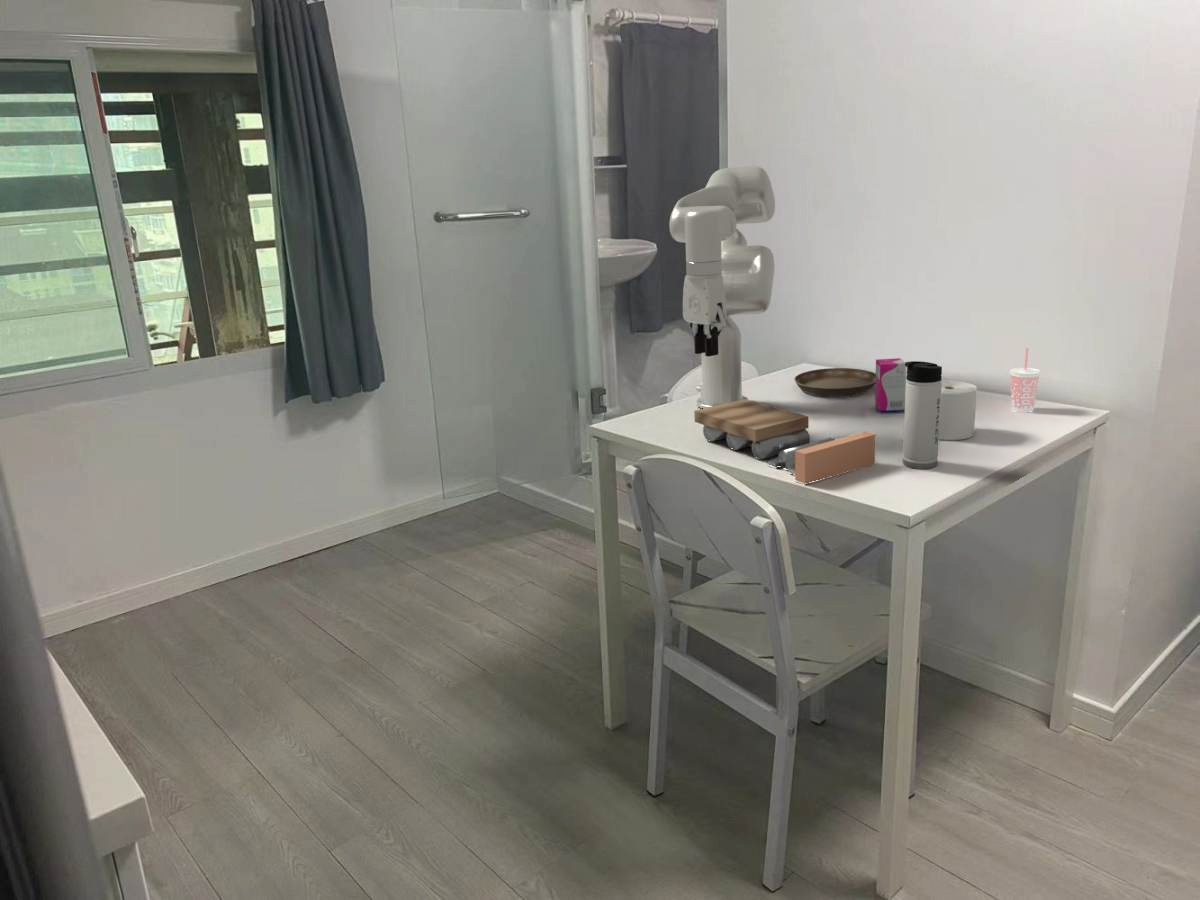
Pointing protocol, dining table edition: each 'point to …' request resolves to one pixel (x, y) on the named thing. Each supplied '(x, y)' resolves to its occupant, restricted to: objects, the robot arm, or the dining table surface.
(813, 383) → the plant saucer
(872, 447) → the bar
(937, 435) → the travel mug
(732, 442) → the middle roller
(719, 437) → the rear roller
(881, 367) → the supplement box
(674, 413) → the dining table surface
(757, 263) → the robot arm
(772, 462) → the cradle
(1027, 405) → the beverage cup
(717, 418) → the slab
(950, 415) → the toilet tissue
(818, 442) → the roller
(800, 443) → the cylinder
